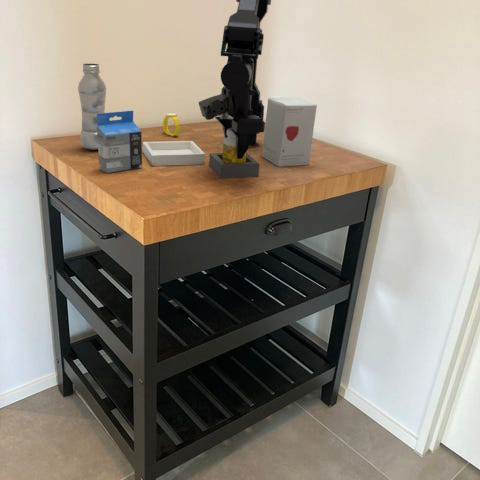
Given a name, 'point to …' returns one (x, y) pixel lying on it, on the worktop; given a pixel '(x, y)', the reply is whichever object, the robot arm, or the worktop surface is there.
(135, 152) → the label tape box
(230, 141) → the supplement bottle
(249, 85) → the robot arm
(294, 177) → the worktop surface
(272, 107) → the supplement box
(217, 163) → the socket collar
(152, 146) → the tray
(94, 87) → the plastic bottle
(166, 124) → the watch
